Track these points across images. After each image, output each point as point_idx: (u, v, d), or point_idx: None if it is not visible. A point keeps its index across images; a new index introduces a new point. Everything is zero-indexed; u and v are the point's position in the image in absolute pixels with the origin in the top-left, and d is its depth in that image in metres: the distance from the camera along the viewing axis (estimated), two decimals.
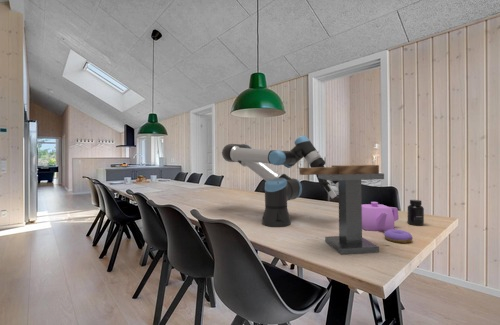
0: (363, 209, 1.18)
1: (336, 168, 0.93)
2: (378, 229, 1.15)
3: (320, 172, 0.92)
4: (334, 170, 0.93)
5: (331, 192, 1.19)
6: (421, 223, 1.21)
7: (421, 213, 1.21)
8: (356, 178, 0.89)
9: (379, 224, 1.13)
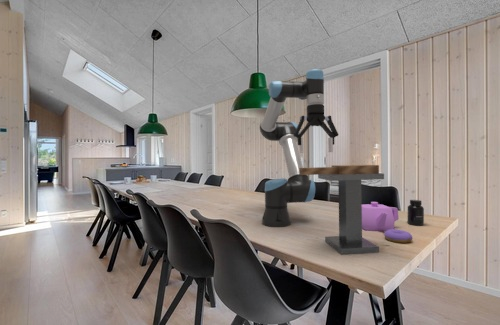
0: (363, 209, 1.18)
1: (336, 168, 0.93)
2: (378, 229, 1.15)
3: (320, 172, 0.92)
4: (334, 170, 0.93)
5: (300, 147, 1.11)
6: (421, 223, 1.21)
7: (421, 213, 1.21)
8: (356, 178, 0.89)
9: (379, 224, 1.13)
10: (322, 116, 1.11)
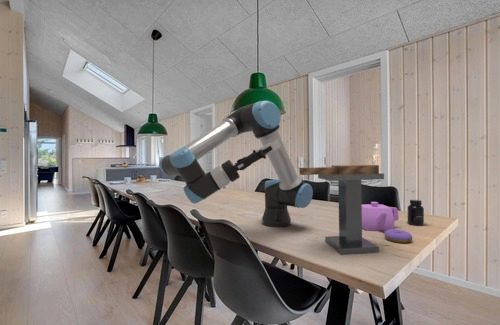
0: (363, 209, 1.18)
1: (336, 168, 0.93)
2: (378, 229, 1.15)
3: (320, 172, 0.92)
4: (334, 170, 0.93)
5: None
6: (421, 223, 1.21)
7: (421, 213, 1.21)
8: (356, 178, 0.89)
9: (379, 224, 1.13)
10: None
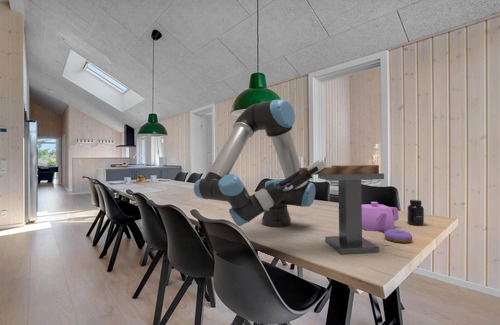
0: (363, 209, 1.18)
1: (336, 168, 0.93)
2: (378, 229, 1.15)
3: (320, 172, 0.92)
4: (334, 170, 0.93)
5: None
6: (421, 223, 1.21)
7: (421, 213, 1.21)
8: (356, 178, 0.89)
9: (379, 224, 1.13)
10: None
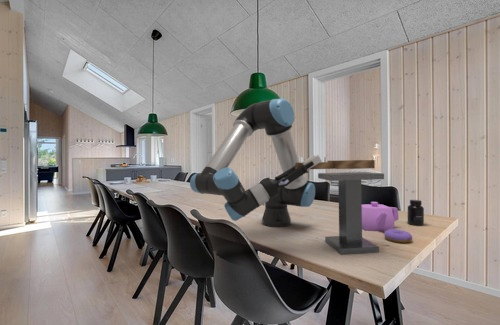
0: (363, 209, 1.18)
1: (332, 163, 0.92)
2: (378, 229, 1.15)
3: (315, 167, 0.92)
4: (330, 165, 0.92)
5: None
6: (421, 223, 1.21)
7: (421, 213, 1.21)
8: (356, 178, 0.89)
9: (379, 224, 1.13)
10: None
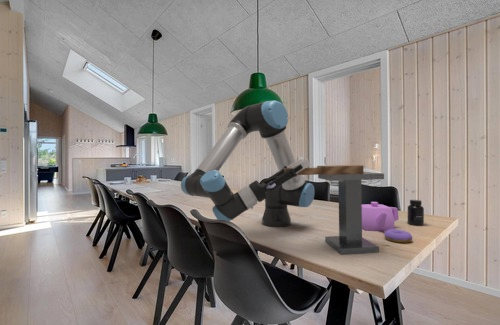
0: (363, 209, 1.18)
1: (321, 168, 0.92)
2: (378, 229, 1.15)
3: (304, 173, 0.91)
4: (319, 170, 0.92)
5: None
6: (421, 223, 1.21)
7: (421, 213, 1.21)
8: (356, 178, 0.89)
9: (379, 224, 1.13)
10: None
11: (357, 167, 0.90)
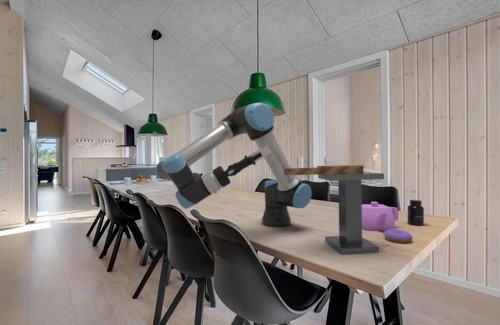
0: (363, 209, 1.18)
1: (321, 168, 0.92)
2: (378, 229, 1.15)
3: (304, 173, 0.91)
4: (319, 170, 0.92)
5: None
6: (421, 223, 1.21)
7: (421, 213, 1.21)
8: (356, 178, 0.89)
9: (379, 224, 1.13)
10: None
11: (357, 167, 0.90)
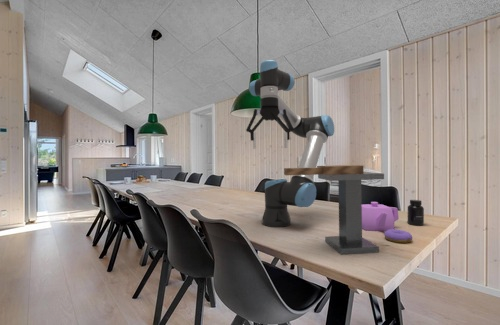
0: (363, 209, 1.18)
1: (321, 168, 0.92)
2: (378, 229, 1.15)
3: (304, 173, 0.91)
4: (319, 170, 0.92)
5: (253, 142, 1.06)
6: (421, 223, 1.21)
7: (421, 213, 1.21)
8: (356, 178, 0.89)
9: (379, 224, 1.13)
10: (276, 110, 1.06)
11: (357, 167, 0.90)
